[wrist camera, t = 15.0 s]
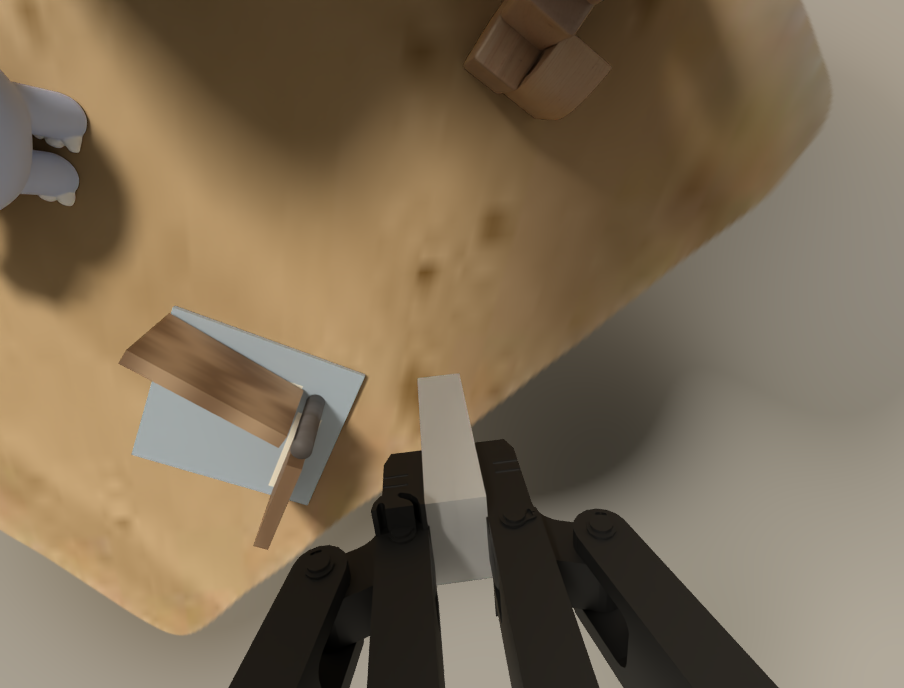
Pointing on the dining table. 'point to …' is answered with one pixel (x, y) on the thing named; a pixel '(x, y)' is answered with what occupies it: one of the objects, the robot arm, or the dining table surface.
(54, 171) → the hippopotamus toy
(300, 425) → the fence fixed
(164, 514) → the dining table surface
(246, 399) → the fence panel
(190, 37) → the dining table surface
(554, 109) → the wooden toy
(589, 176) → the dining table surface
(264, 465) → the card
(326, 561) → the robot arm
